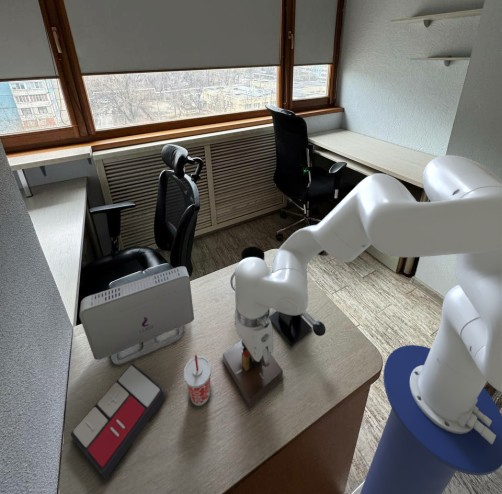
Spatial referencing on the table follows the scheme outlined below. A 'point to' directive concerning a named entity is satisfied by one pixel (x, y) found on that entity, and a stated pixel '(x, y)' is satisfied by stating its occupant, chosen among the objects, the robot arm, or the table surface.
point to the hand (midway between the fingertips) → (252, 360)
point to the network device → (137, 314)
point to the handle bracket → (290, 326)
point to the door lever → (315, 324)
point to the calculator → (117, 419)
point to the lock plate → (251, 374)
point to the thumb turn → (245, 359)
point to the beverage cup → (198, 379)
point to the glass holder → (249, 253)
